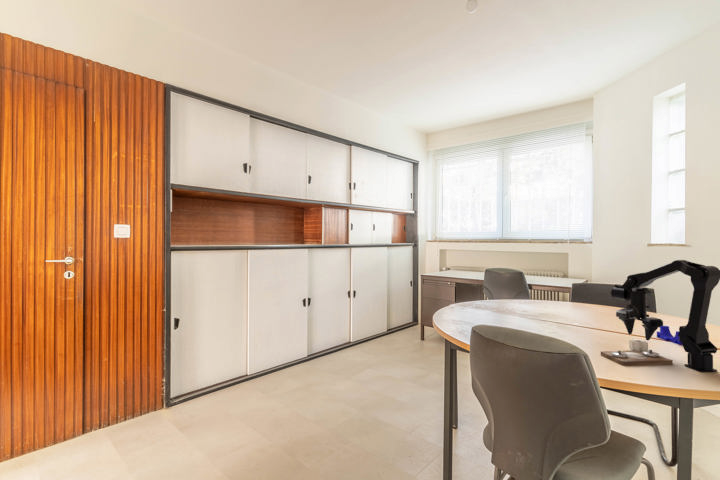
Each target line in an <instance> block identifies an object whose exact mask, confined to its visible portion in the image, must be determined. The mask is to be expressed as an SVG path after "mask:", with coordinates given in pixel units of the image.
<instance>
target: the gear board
mask: <svg viewBox="0 0 720 480" xmlns="http://www.w3.org/2000/svg"><path fill="white" fill-rule="evenodd" d="M620 351H621V352H622V353H625V354H627V358H617V357H614V356H612V353H611V352H618V350H609V351H605V350H604V351H603V350H602V351H600V356H602V357H604V358H606V359H609V360H611V361H613V362H615V363H617V364H619V365H622V366H650V365H651V366H652V365H653V366H656V365H657V366H658V365H673V364H674V363H673V362H674V361H673V360H672V359H669V358H667V357H664V356H661V355H659V357H658V358H653V357H648V356H644V355H643V351H646V350H643V351H634V350H633V351H632V350H620Z"/></svg>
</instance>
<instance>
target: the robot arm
mask: <svg viewBox="0 0 720 480" xmlns="http://www.w3.org/2000/svg"><path fill="white" fill-rule="evenodd" d="M679 272H680V273H682V274H683V275H686V276H689V277H690V282H691V284H692V287H693V293H692V298H691V303H690V304H691V305H690V311H689V315H688V319H687V320H688V321H687V323H686V325H682V326H681V325H680V326H679V328H678V331H679V334H678V335H677V336H679V341H680V342H681V343H682V345H681V346H682V348H683V350H684V352H685V353H687V363H685V364H684V366H685V367H688V368H691V369H693V370H695V371H698V372H702V373H703V372H706V373H707V372H710V373H711V372H712V373H713V372H718V369H717V368H714V355H713V354H716V353H717V351H718V347H717V346H716V345H714V343H712V342H711V340H710V335H709V332H708V331H709V330H708V329H707V327H706V324H707V319H708V314H709V307H710V302H711V298H712V292H713V290H714V289H715V288H716V286H717V285H718V284H719V282H720V269H719V268H718V267H716V266H713V265H704V264H701V263H696V262H692V261H689V260H686V259H674V260H673V261H672V262H669V263H667V264H664V265H661V266H659V267H657V268H654V269H651V270H648V271H646V272H639V273H633V274H629V275H628V276H627V277H626V279H625V281H624V282H623V284H614V287H613V288H612V289H611V291H610V296H611V297H612V298H613V299H616V300H617V299H618V300H622V301H629V303H627V304H626V307H623V308H620V309H618V310H616V312H615V317H617V318H618V319H619V320H620V321H622V323H623V324H624V326H625V329H626V331H627V333H628V335H632V334H633V331H634V327H635V323H636V322H635V321H640V322H641V323H642V324H641V326H642V327H643V328H644V336H645V337H644V338H645V341H650V340H651V338H652V336H653V335H654V334H655V332H657V330H658V329H659V328H660V327H661V326H664V321H663V320H662V318H657V317H652V316H651V317H650V314H647V312H648V311H647V309H649V308H650V305H648V304H647V295H648V294H652V291H651V290H650V289H649V288H648V287H647V286H649V285H651V284H653V283H654V282H655V281H657V280H659V279H662V278H664V277H667V276H670V275H672V274H676V273H679Z"/></svg>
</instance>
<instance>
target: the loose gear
mask: <svg viewBox="0 0 720 480" xmlns="http://www.w3.org/2000/svg"><path fill="white" fill-rule="evenodd" d="M628 340H629V342H628V343H629V344H628V346H629V350H630V351H643V350H646V351H649V342H647V340H643V339H639V338H638V339H635V338H632V339H628Z"/></svg>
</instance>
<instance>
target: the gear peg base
mask: <svg viewBox="0 0 720 480" xmlns="http://www.w3.org/2000/svg"><path fill="white" fill-rule="evenodd" d="M617 351H618V352H611V353H612V356H614V357H617V358H627V354H625V353H622V352H621V351H622V350H617ZM643 355H644V356H648V357H653V358H658V357H659V356H660V353H659V352H655V351H653V350H652V349H648V351H643Z"/></svg>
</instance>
